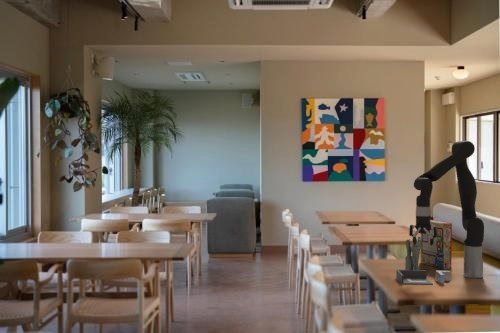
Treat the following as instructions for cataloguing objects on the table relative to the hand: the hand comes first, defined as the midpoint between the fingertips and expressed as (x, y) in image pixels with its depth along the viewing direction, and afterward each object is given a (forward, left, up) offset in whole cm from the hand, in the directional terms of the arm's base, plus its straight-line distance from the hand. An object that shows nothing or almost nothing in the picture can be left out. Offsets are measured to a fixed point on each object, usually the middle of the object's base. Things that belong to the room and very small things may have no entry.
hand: (423, 244), depth 292 cm
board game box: (-16, -35, -19) cm, 43 cm away
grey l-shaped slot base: (+6, +5, -19) cm, 20 cm away
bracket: (+1, -21, -19) cm, 28 cm away
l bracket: (-10, +5, -19) cm, 22 cm away
